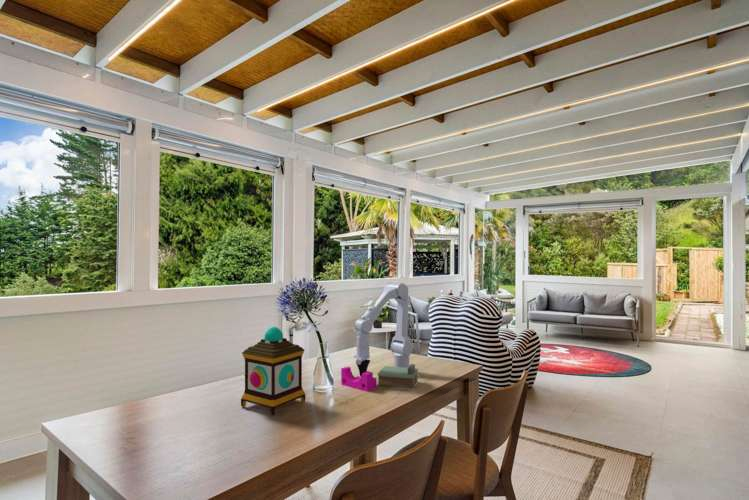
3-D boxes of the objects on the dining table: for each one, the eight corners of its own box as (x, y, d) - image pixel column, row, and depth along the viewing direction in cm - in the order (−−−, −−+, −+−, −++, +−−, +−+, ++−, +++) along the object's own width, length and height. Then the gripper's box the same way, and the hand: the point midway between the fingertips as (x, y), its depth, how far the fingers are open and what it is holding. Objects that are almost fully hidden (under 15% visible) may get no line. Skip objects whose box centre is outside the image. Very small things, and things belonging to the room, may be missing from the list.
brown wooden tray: (385, 379, 196) (385, 368, 196) (417, 382, 192) (417, 370, 192) (378, 387, 184) (378, 375, 184) (412, 390, 180) (412, 378, 180)
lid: (384, 368, 196) (384, 360, 196) (418, 370, 192) (418, 363, 192) (377, 375, 184) (377, 367, 184) (413, 378, 180) (413, 370, 180)
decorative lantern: (272, 419, 149) (272, 333, 149) (235, 408, 160) (235, 327, 160) (310, 402, 166) (310, 325, 166) (274, 393, 176) (274, 320, 177)
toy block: (376, 388, 183) (376, 371, 183) (367, 392, 178) (366, 374, 178) (350, 381, 193) (350, 365, 193) (341, 385, 188) (341, 368, 188)
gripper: (359, 342, 198) (359, 371, 198) (349, 349, 184) (349, 380, 184) (373, 343, 196) (373, 372, 196) (365, 350, 182) (365, 382, 182)
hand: (363, 376), depth 190 cm, fingers closed
